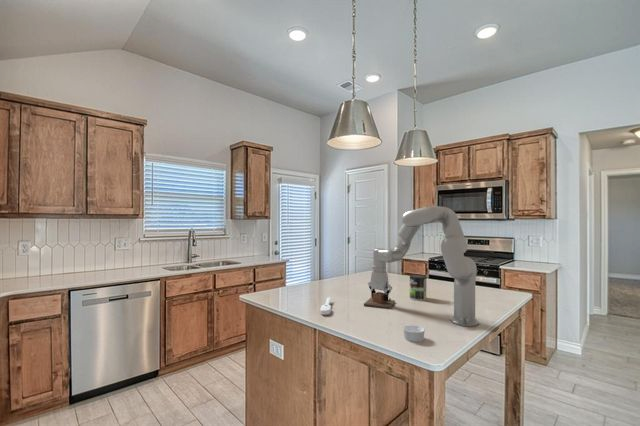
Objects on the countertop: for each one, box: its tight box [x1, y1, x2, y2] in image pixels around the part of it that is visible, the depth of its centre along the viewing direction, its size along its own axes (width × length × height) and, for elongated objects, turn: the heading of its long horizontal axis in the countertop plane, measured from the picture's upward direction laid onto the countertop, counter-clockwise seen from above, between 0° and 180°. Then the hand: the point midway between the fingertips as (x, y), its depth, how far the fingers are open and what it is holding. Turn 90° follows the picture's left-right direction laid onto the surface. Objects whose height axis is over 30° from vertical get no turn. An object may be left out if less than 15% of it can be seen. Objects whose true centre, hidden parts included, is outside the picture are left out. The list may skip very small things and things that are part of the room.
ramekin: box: [402, 324, 426, 343], centre depth 135 cm, size 9×9×4 cm
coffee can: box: [409, 273, 428, 301], centre depth 201 cm, size 10×10×14 cm
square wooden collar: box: [373, 291, 387, 304], centre depth 189 cm, size 10×6×5 cm, turn 132°
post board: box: [363, 291, 396, 310], centre depth 187 cm, size 15×15×7 cm
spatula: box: [319, 296, 332, 316], centre depth 179 cm, size 28×6×3 cm, turn 173°
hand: (379, 299), depth 187 cm, fingers open, 8 cm apart
